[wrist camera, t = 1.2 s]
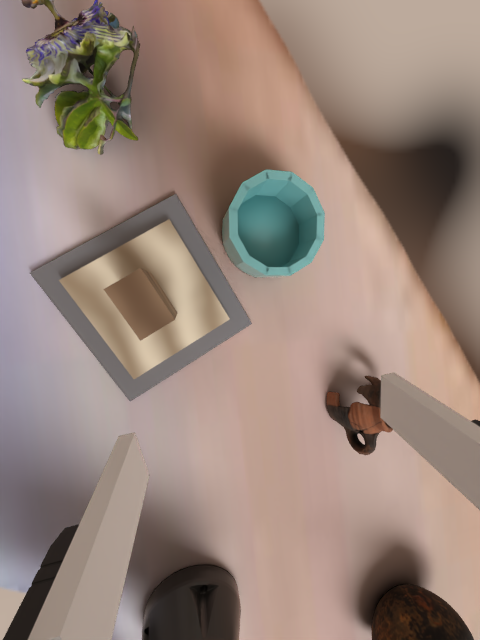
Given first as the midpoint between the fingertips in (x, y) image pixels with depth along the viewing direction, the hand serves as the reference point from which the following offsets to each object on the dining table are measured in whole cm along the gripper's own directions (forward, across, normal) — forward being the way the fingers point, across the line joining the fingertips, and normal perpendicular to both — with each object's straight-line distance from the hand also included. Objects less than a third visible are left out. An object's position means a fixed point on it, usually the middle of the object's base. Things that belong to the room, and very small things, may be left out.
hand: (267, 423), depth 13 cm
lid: (+23, +9, -4) cm, 25 cm away
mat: (+23, +9, -4) cm, 25 cm away
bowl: (+26, -7, -10) cm, 28 cm away
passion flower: (+27, +10, -27) cm, 39 cm away
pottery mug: (+23, -18, +20) cm, 35 cm away
